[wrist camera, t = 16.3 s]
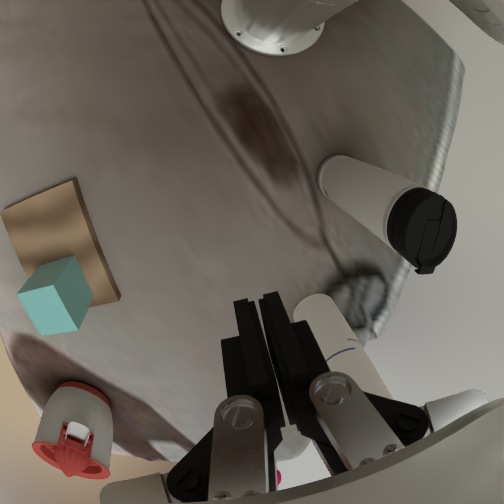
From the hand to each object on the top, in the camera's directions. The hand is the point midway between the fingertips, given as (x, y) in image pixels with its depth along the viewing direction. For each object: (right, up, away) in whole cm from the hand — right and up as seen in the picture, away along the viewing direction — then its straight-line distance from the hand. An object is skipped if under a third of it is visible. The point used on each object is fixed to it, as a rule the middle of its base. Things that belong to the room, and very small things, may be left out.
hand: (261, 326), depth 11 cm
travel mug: (+11, +13, +26) cm, 31 cm away
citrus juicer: (-35, -27, +38) cm, 58 cm away
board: (-28, +3, +24) cm, 37 cm away
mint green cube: (-27, -1, +25) cm, 37 cm away
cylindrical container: (+10, -7, +36) cm, 38 cm away
